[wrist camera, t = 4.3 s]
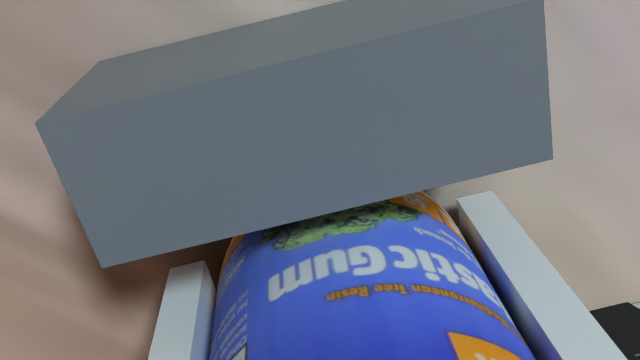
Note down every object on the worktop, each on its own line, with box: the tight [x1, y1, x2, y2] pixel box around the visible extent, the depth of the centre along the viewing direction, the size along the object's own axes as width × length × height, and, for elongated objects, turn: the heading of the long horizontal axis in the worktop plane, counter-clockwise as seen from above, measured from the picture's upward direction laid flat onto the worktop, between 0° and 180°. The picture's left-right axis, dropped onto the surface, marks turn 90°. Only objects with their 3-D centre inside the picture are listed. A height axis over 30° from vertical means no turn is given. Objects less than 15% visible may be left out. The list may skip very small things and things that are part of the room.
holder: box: [35, 0, 553, 268], centre depth 12 cm, size 12×7×4 cm, turn 13°
